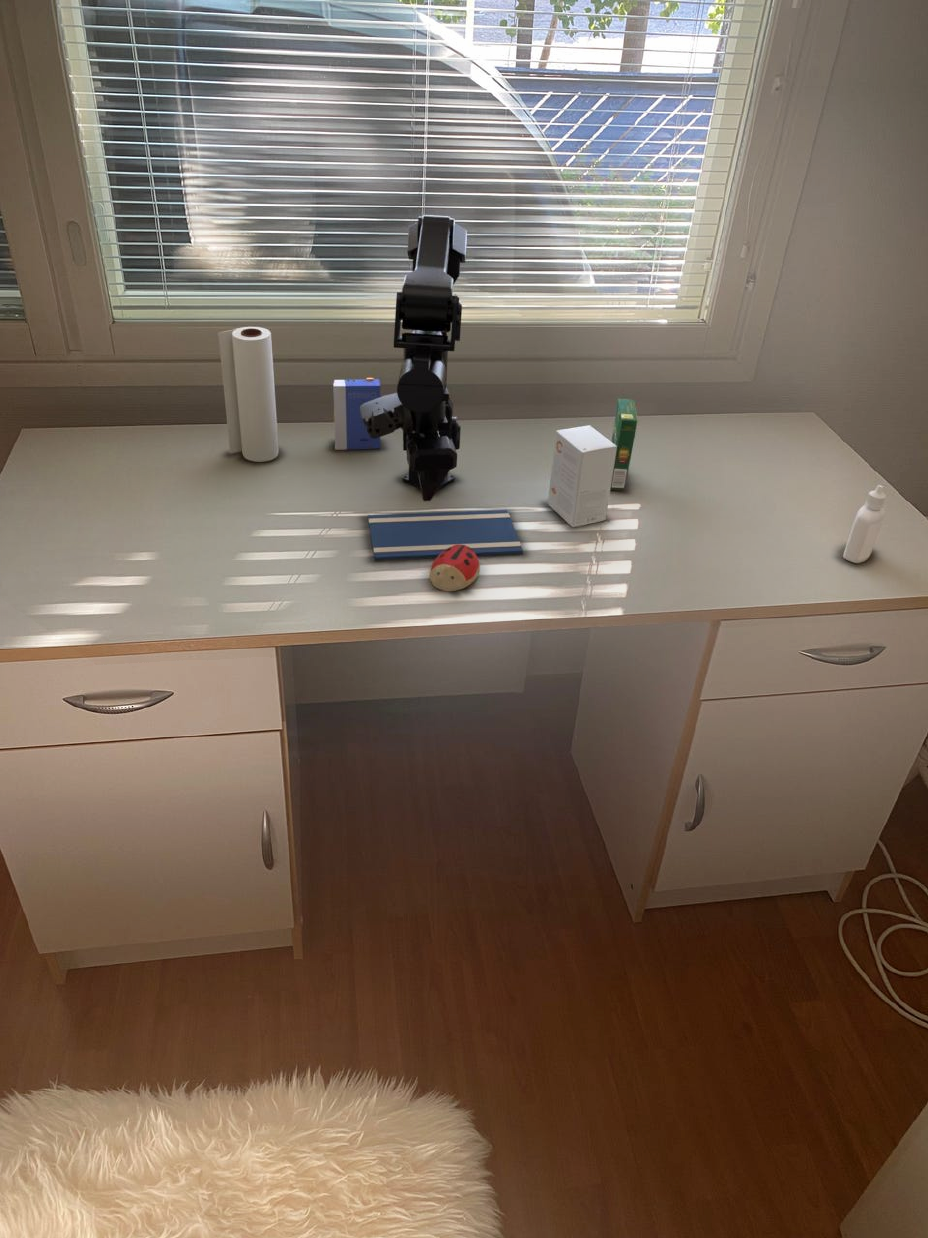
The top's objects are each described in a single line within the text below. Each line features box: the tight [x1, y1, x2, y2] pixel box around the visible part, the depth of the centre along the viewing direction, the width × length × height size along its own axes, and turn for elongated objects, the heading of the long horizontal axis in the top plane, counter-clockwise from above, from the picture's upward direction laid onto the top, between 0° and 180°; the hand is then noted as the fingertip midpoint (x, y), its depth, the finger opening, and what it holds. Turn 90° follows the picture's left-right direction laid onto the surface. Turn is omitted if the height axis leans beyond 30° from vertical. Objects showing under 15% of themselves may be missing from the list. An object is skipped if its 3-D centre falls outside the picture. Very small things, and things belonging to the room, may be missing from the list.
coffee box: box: [610, 398, 639, 492], centre depth 161 cm, size 8×3×13 cm, turn 176°
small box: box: [547, 425, 617, 528], centre depth 151 cm, size 8×6×13 cm
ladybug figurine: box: [429, 544, 481, 592], centre depth 138 cm, size 7×10×4 cm
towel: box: [367, 509, 524, 562], centre depth 147 cm, size 22×12×1 cm, turn 100°
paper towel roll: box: [217, 326, 280, 463], centre depth 159 cm, size 7×6×21 cm
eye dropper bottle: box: [842, 484, 887, 564], centre depth 145 cm, size 4×6×12 cm
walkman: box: [332, 377, 381, 451], centre depth 166 cm, size 8×3×12 cm, turn 99°
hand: (421, 483), depth 137 cm, fingers open, 9 cm apart
